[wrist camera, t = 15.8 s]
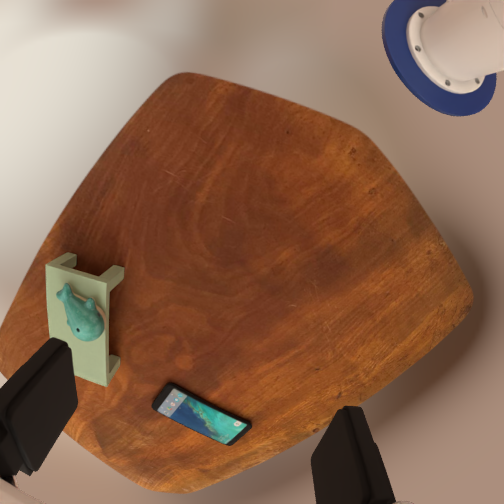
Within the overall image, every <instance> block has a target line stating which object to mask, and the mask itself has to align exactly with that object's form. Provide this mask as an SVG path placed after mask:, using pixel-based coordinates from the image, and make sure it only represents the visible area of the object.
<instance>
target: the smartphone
mask: <svg viewBox="0 0 504 504" xmlns="http://www.w3.org/2000/svg"><path fill="white" fill-rule="evenodd" d="M152 408H153V409H154V410H155V411H157V412H159V413H161V414H163V415H165V416H166V417H168V418H170V419H172V420H174V421H176V422H178V423H180V424H182V425H184V426H186V427H188V428H190V429H192V430H194V431H196V432H198V433H200V434H203V435H205V436H207V437H209V438H211V439H213V440H216V441H218V442H220V443H223V444H225V445H228V446H231V445H233V444H234V443H235V442H236V441H237V440H239V439H240V438H241V437H242V436H243V435H244V434H245V433H247V432H248V431H249V430H250V429H251V428H252V424H251V423H250V422H248V421H245V420H243V419H241V418H239V417H237V416H235V415H232V414H230V413H228V412H226V411H224V410H222V409H220V408H218V407H216V406H214V405H212V404H210V403H208V402H206V401H204V400H202V399H200V398H198V397H196V396H195V395H193V394H191V393H189V392H187V391H185V390H183V389H182V388H180V387H178V386H176V385H174V384H172V383H168V384H166V386H165V387H164V388H163V390H162V391H161V392H160V394H159V395H158V397H157V398H156V399H155V401H154V402H153V403H152Z"/></svg>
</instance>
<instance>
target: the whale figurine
mask: <svg viewBox="0 0 504 504" xmlns="http://www.w3.org/2000/svg"><path fill="white" fill-rule="evenodd" d="M56 297H57V298H58V299H59V300H60V301H62V302H63V303H64V307H65V312H66V316H67V325H68V326H70V328H71V331H72V333H73V335H74V336H75V337H76V338H78V339H80V340H82V341H87V342H89V341H94V340H96V339H97V338H99V337H100V336H101V335H102V333H103V332H104V331H105V328H106V317H105V314H104V312H103V310H102V309H101V308H100V307H99V306H97V305H96V301H95V299H94V298H93V297H89V298H88V299H85V298H83V297H81V296H79V295H77V294H75V293H74V292H73V290H72V287H71V285H70V284H69V283H65V284H64V286H63V289H62V290H60V291H58V292H57V293H56Z"/></svg>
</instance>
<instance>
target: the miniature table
mask: <svg viewBox="0 0 504 504" xmlns="http://www.w3.org/2000/svg"><path fill="white" fill-rule="evenodd" d="M76 263H77V255H76V254H73V253H69V252H67V253H65V254H63V255H62V256H60V257H58V258H56V259H54V260H53V261H51V262H49V263H47V264H46V295H47V311H48V323H49V334H50V338H51V337H55V338H58V339H60V340H63V341H65V342H67V343H68V346H69V347H70V348H71V350H72V358H73V368H74V375H76V376H79V377H81V378H84V379H86V380H89V381H92V382H94V383H97V384H100V385H103V386H106V387H107V386H108V384H109V383H110V381H111V379H112V378H113V376H114V374H115V373H116V371H117V369H118V368H119V366H120V357H118V356H115V355H112V354H111V355H110V356H109V297H110V291H111V290H112V289H113V288H114V287H115V286H116V285H117V284H119V283H120V282H121V281H122V280H123V279H124V267H120V266H116V265H113V266H112V267H110V268H109V269H108V270H107V271H105V272H104V273H103V274H102V275H100V276H95V275H92V274H88V273H85V272H82V271H78V270H75V269H72V268H73V267H75V266H76ZM65 283H69V284H70V285H71V287H72V290H73V292H74V293H75V294H77V295H79V296H81V297H83V298H85V299H88V298H89V297H93V298H94V299H95V301H96V305H97V306H99V307H100V308H101V309H102V310H103V312H104V314H105V317H106V328H105V331H104V332H103V333H102V335H101V336H100V337H99V338H97V339H96V340H94V341H89V342H87V341H82V340H80V339H78V338H76V337H75V336H74V335H73V333H72V331H71V328H70V326H68V325H67V316H66V312H65V307H64V303H63V302H62V301H60V300H59V299H58V298H57V297H56V293H57V292H58V291H60V290H62V289H63V286H64V284H65Z"/></svg>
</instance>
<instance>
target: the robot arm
mask: <svg viewBox="0 0 504 504" xmlns="http://www.w3.org/2000/svg"><path fill="white" fill-rule="evenodd" d="M406 37H407V43H408V46H409V50H410V52H411V54H412V57H413V58H414V60H415V62H416V64H417V65H418V67H419V68H420V69H421V70H422V72H423V73H424V74H425V75H426V76H427V77H428V78H429V79H430V80H431V81H432V82H433V83H435V84H436V85H437V86H439V87H440V88H442V89H444V90H446V91H449V92H451V93H456V94H465V93H469V92H473V91H474V90H476V89H478V88H479V87H480V86H481V84H482V82H483V80H484V78H485V75H489V74H492V73H496V72H500V71H503V70H504V0H446V2H445V3H444V4H443V5H441V6H440V7H436V6H428V7H423V8H421V9H419V10H417V11H416V12H415V13H414V14H413V15H412V16H411V17H410V19H409V21H408V23H407V28H406ZM77 405H78V398H77V391H76V384H75V376H74V368H73V358H72V350H71V348H70V347H69V346H68V343H67V342H65V341H63V340H60V339H58V338H55V337H51V338H50V339H49V340H48V341H47V342H46V343H45V344H44V345H43V346H42V347H41V348H40V349H39V350H38V351H37V352H36V353H35V354H34V355H33V356H32V357H31V358H30V359H29V360H28V361H27V362H26V363H25V364H24V365H22V366H21V367H20V368H19V369H18V370H17V371H16V372H15V373H14V375H13V376H12V377H11V378H10V379H9V380H8V381H7V382H6V383H5V384H4V385H3V386H2V387H1V388H0V504H45V503H43V502H42V501H39V500H38V499H36V498H34V497H32V496H30V495H28V494H26V493H25V492H23V491H21V490H19V487H18V483H17V479H16V475H17V473H18V471H19V470H20V471H22V472H24V473H25V474H27V475H29V476H31V474H32V472H33V471H35V472H36V471H38V470H39V468H40V466H41V465H42V463H43V461H44V460H45V458H46V456H47V455H48V453H49V451H50V450H51V448H52V447H53V445H54V443H55V442H56V440H57V438H58V437H59V435H60V433H61V432H62V430H63V429H64V427H65V426H66V424H67V422H68V421H69V419H70V418H71V416H72V415H73V413H74V411H75V410H76V408H77ZM311 467H312V475H313V482H314V489H315V497H316V504H414V503H412V502H408V501H398V502H396V500H395V497H394V494H393V491H392V488H391V484H390V481H389V478H388V475H387V472H386V469H385V467H384V463H383V461H382V458H381V455H380V452H379V449H378V447H377V445H376V443H374V441H373V438H372V435H371V432H370V429H369V426H368V424H367V421H366V418H365V415H364V412H363V410H362V408H361V407H357V406H344V407H343V408H342V409H339V410H338V411H337V412H336V414H335V416H334V418H333V420H332V421H331V423H330V425H329V427H328V429H327V430H326V432H325V434H324V435H323V437H322V439H321V441H320V442H319V444H318V446H317V447H316V449H315V451H314V452H313V454H312V457H311Z"/></svg>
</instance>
